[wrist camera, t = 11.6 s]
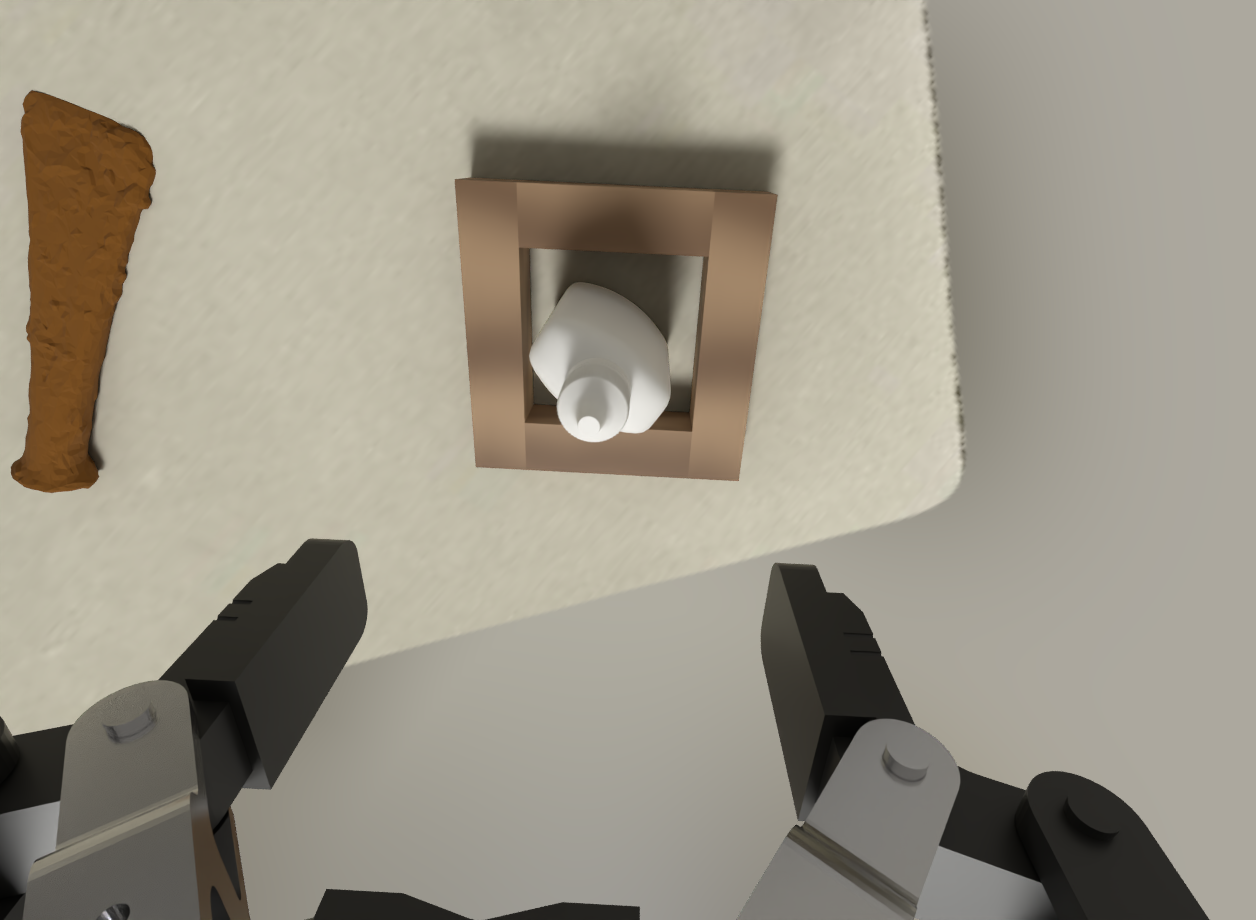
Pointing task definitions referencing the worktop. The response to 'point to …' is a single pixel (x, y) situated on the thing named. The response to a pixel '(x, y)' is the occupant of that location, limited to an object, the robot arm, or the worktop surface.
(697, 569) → the worktop surface
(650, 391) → the eye dropper bottle
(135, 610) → the worktop surface
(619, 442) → the walnut collar
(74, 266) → the primitive tool
